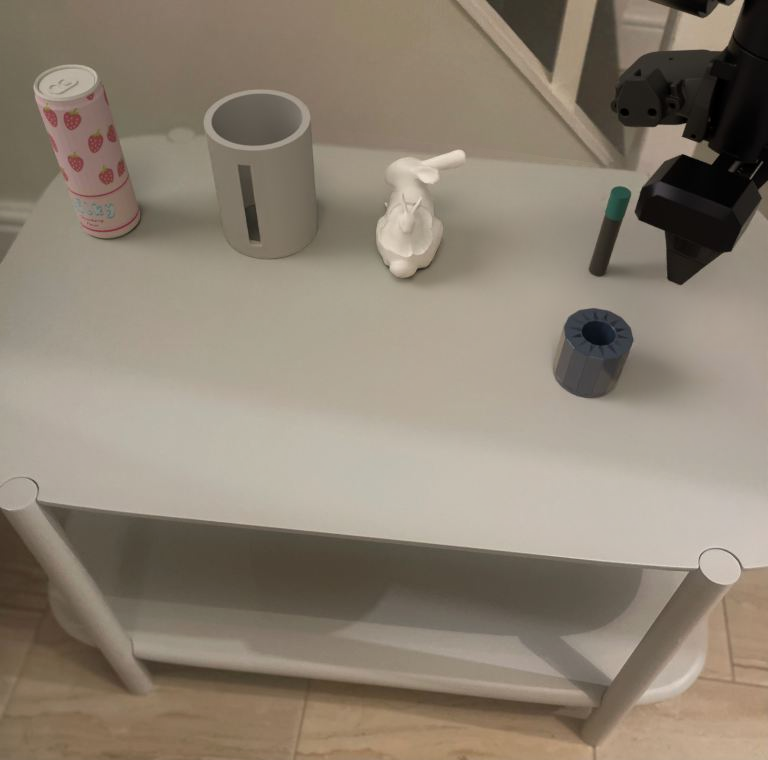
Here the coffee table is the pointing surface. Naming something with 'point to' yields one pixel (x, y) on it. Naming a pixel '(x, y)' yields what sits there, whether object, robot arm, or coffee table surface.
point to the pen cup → (592, 352)
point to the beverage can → (87, 149)
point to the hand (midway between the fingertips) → (700, 246)
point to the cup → (263, 170)
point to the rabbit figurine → (412, 213)
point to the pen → (609, 229)
